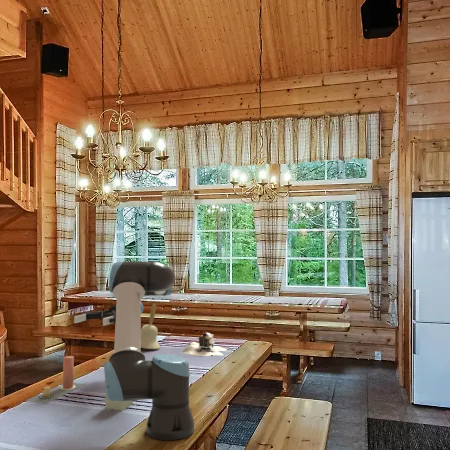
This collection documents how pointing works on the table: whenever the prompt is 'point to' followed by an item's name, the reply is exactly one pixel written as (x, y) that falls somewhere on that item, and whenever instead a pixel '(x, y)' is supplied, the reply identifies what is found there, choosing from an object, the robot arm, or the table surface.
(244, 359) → the table surface
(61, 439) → the table surface
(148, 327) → the handbell
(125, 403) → the pale green block
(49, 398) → the board
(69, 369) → the peg
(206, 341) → the cabin
